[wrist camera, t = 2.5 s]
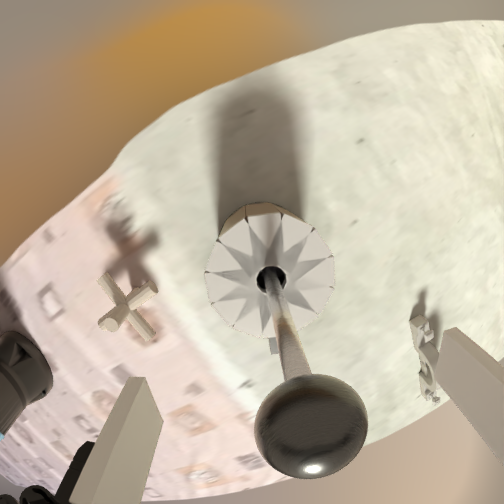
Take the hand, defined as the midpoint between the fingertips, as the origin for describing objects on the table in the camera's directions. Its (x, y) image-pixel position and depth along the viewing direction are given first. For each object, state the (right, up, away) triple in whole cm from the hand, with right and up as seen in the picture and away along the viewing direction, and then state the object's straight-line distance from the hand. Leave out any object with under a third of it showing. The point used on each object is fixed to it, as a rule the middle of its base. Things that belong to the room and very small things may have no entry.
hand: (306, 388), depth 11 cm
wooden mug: (-1, +5, +28) cm, 28 cm away
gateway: (+28, -14, +34) cm, 46 cm away
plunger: (-1, +4, +17) cm, 18 cm away
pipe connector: (-18, 0, +28) cm, 34 cm away
